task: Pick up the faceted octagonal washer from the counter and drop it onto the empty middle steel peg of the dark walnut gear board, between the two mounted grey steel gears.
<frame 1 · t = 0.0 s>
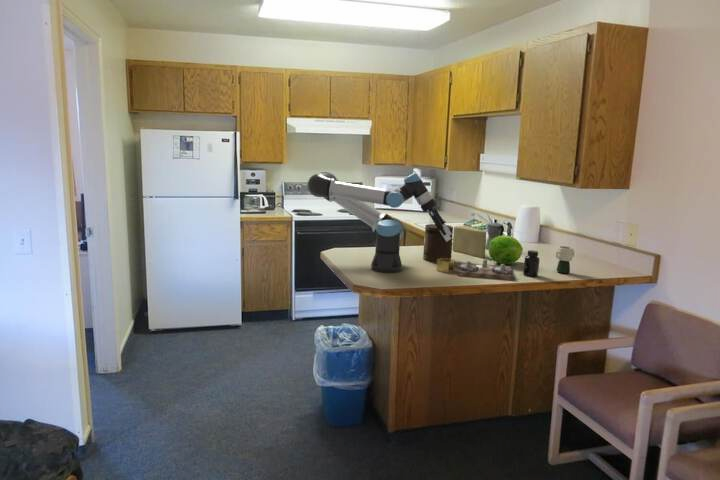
hand: (449, 237, 255), 15 cm above the table, fingers open, 13 cm apart
beige rectangular block: (470, 254, 292), on the table
wooden container: (436, 259, 275), on the table
supplement bottle: (530, 275, 249), on the table
coffeepot: (493, 249, 307), on the table
lettuce: (505, 263, 272), on the table
gear board: (484, 272, 250), on the table
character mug: (562, 273, 257), on the table
faceted octagonal washer: (444, 270, 253), on the table
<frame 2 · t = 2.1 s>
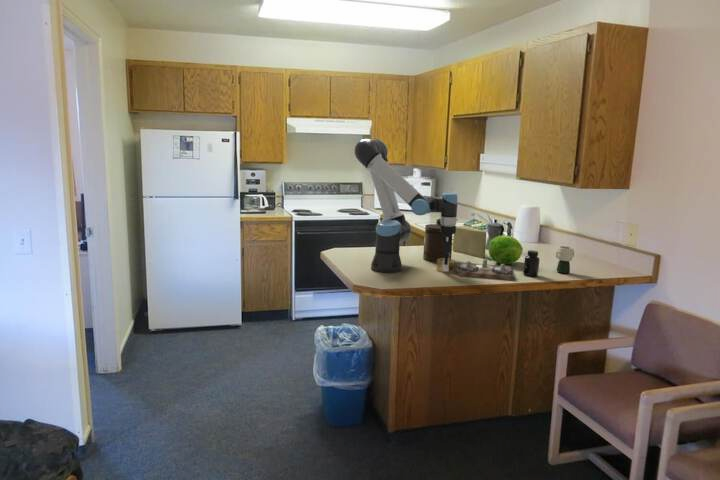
hand: (446, 267, 253), 1 cm above the table, fingers open, 13 cm apart
nothing on the table moved.
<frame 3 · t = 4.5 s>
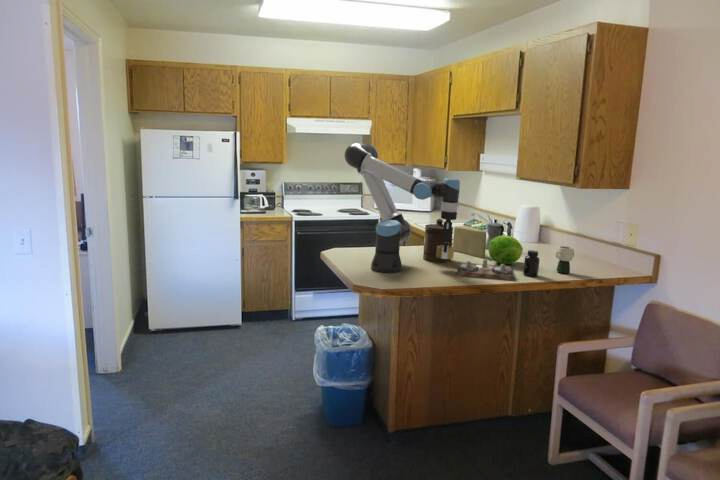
hand: (444, 256, 252), 7 cm above the table, fingers closed on faceted octagonal washer, 8 cm apart
faceted octagonal washer: (444, 257, 252), point 6 cm above the table, touching gripper
everything else where it was.
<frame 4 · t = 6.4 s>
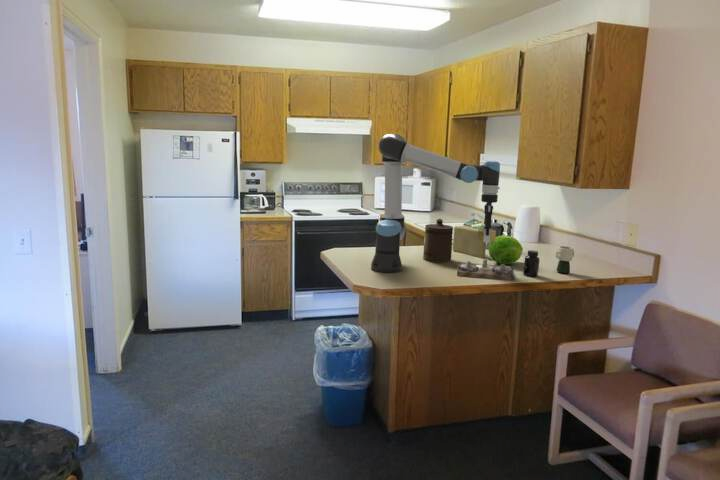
hand: (486, 240, 250), 16 cm above the table, fingers closed on faceted octagonal washer, 8 cm apart
faceted octagonal washer: (486, 240, 250), point 16 cm above the table, touching gripper
everything else where it was.
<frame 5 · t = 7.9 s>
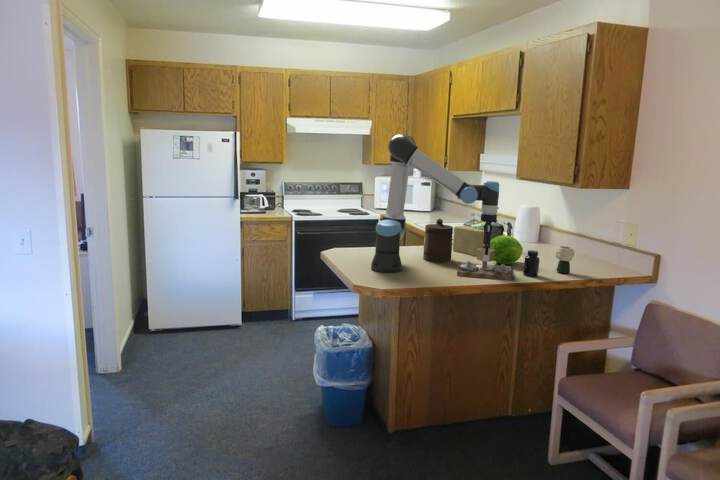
hand: (485, 259, 252), 6 cm above the table, fingers closed on faceted octagonal washer, 8 cm apart
faceted octagonal washer: (485, 259, 252), point 6 cm above the table, touching gripper
everything else where it was.
when the fingers open (6 cm above the table, at t = 8.8 s): faceted octagonal washer drops 3 cm, resting on gear board.
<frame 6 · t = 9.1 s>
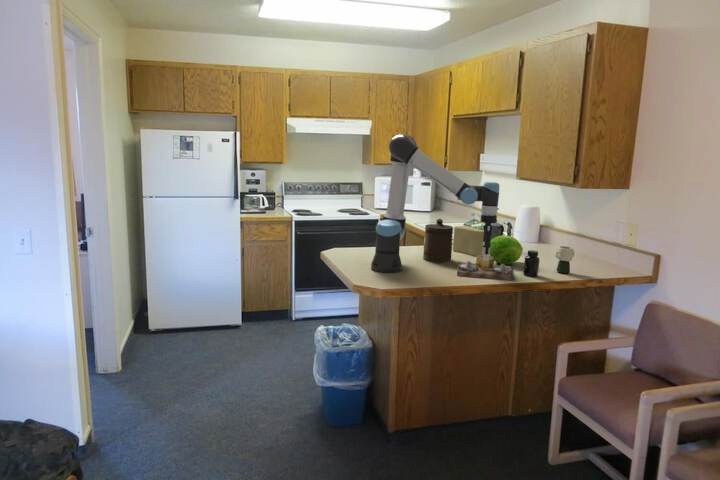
hand: (485, 257, 252), 7 cm above the table, fingers open, 12 cm apart
faceted octagonal washer: (484, 267, 253), point 2 cm above the table, touching gear board
everything else where it was.
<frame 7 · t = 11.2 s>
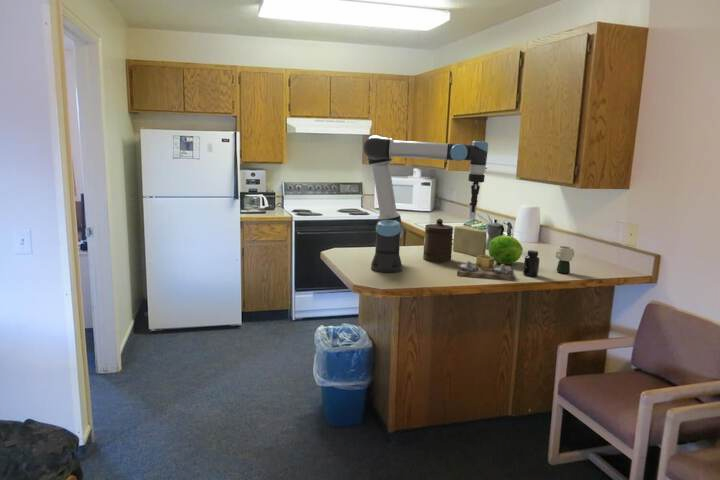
hand: (472, 217, 252), 26 cm above the table, fingers open, 13 cm apart
nothing on the table moved.
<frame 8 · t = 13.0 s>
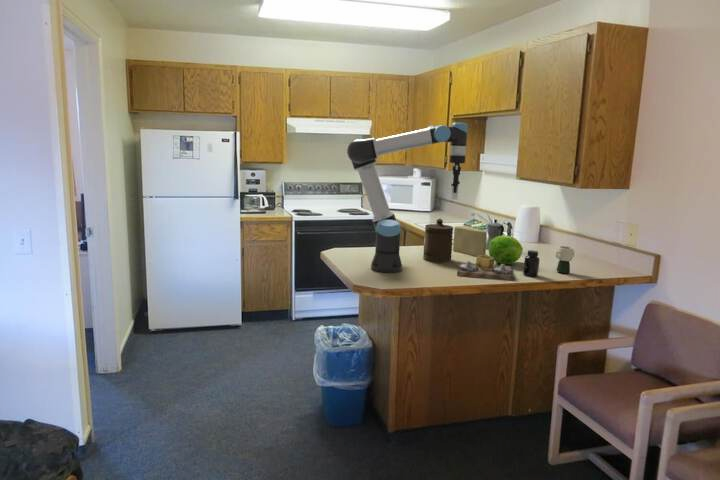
hand: (454, 198, 256), 35 cm above the table, fingers open, 13 cm apart
nothing on the table moved.
at the end: faceted octagonal washer 0.1 cm from the target spot, point 2.2 cm above the table; faceted octagonal washer tilted 0°; the gripper is holding nothing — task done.
